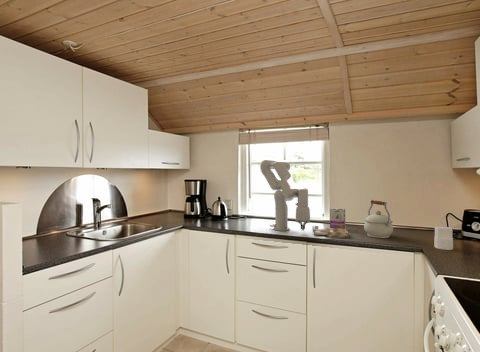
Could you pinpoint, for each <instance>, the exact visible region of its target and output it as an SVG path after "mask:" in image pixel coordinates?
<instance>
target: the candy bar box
mask: <svg viewBox="0 0 480 352" xmlns="http://www.w3.org/2000/svg"><path fill="white" fill-rule="evenodd" d="M329 221H330V223H329V226H330V227H329V228H335V229H346V208H340V207H339V208H336V207H331V208H329Z"/></svg>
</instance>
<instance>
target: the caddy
mask: <svg viewBox="0 0 480 352" xmlns="http://www.w3.org/2000/svg"><path fill="white" fill-rule="evenodd" d="M325 229H329V230H333V232H327V235H326V237H327V238H345V239H347V238H350V237H349V235H350V233H349V232H348V230H347V229H346V228H345V229H335V228H330V227H328V228H327V227H326V228H325Z"/></svg>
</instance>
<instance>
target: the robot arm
mask: <svg viewBox="0 0 480 352" xmlns="http://www.w3.org/2000/svg"><path fill="white" fill-rule="evenodd" d="M259 167H260V169H259V170H260V172H261V174H262V175H263V176H264V178H265V180H266V182H267V184H268V185H269V187H270V189H271V190H273V191H275V192H274V194H273V197H274V198H273V199H274V203H275V204H274V205H275V212H274V214H275V223H274V224H273V223H269V227H271V228H273V230H274V231H277V232H285V231H290V227H288V219H289V218H288V213H289V212H288V209H289V208H288V204H287V202H291V201H293V200H294V199H297V202H296V203H295V206H296V209H295V223H298V224H299V225H300V230H301V231H305V229H306V224H308V223H311V210H310V207H309V189H308V188H306V187H305V188H302V187H291V186H290V183H289V182H288V181H289V179H291V177H292V175H291V173H290V171H289V170H291V164H290V162H289V161H288V160H283V159H277V158H264V159H262V161H261V162H260V166H259ZM272 170H274V171H275V172H276V173H275V172H274V171H272ZM276 174H277V175H278V176H277V175H276Z"/></svg>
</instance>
